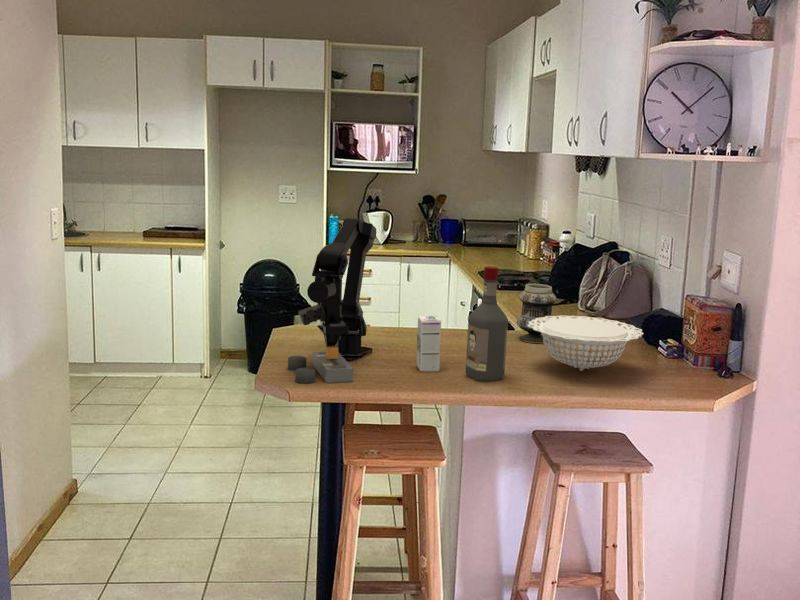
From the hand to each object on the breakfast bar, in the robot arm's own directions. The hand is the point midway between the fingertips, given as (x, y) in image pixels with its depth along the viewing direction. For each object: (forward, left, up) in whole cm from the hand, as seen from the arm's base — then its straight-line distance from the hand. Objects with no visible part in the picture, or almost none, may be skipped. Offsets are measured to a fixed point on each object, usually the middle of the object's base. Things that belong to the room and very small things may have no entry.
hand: (329, 353), depth 224 cm
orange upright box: (0, +2, -1) cm, 3 cm away
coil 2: (+8, +10, -5) cm, 14 cm away
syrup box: (-27, +4, -5) cm, 28 cm away
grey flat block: (0, +3, -5) cm, 6 cm away
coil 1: (+8, -2, -5) cm, 10 cm away
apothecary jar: (-73, -23, -5) cm, 77 cm away
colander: (-70, +13, -5) cm, 71 cm away
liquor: (-40, +14, -5) cm, 43 cm away
